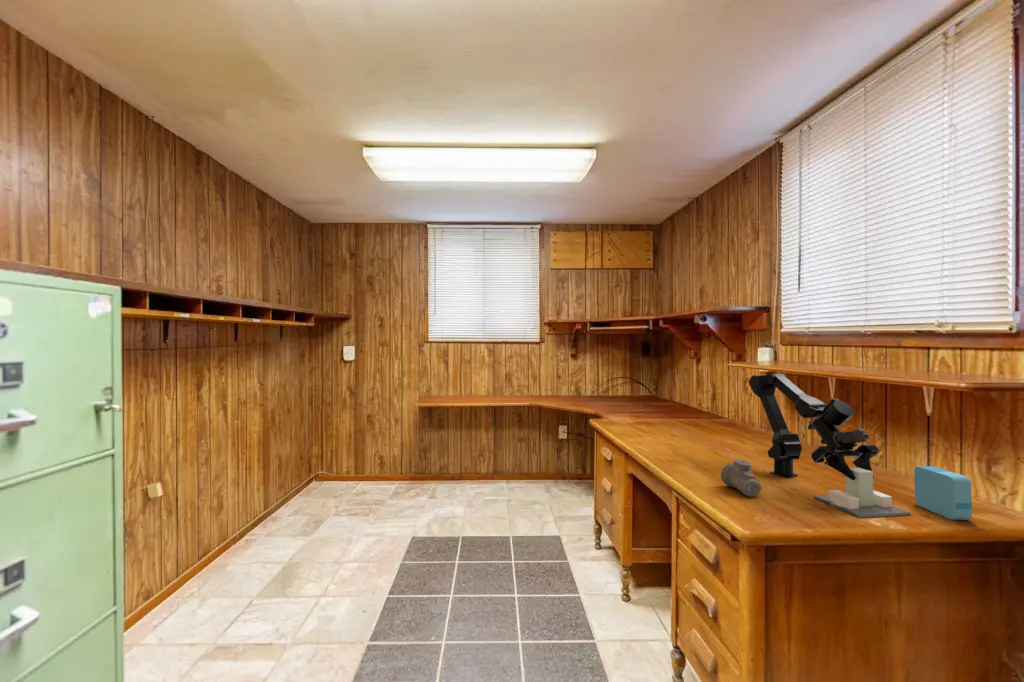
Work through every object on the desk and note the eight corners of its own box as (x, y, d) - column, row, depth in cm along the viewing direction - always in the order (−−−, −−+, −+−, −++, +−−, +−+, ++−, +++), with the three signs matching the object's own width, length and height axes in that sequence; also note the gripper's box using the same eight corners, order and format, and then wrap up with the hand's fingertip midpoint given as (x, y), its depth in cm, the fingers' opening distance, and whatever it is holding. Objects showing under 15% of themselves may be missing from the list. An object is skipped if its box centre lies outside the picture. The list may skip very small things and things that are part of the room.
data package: (972, 522, 110) (971, 477, 111) (954, 521, 111) (953, 477, 111) (930, 504, 122) (929, 464, 123) (914, 504, 123) (913, 464, 123)
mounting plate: (858, 517, 114) (858, 514, 114) (814, 498, 129) (814, 495, 129) (910, 515, 115) (910, 512, 115) (860, 495, 130) (860, 493, 130)
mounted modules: (849, 509, 118) (849, 498, 118) (828, 500, 125) (828, 490, 125) (891, 506, 119) (891, 496, 119) (868, 498, 126) (868, 488, 126)
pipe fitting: (718, 484, 141) (722, 455, 140) (740, 485, 142) (744, 457, 141) (739, 501, 129) (743, 470, 128) (763, 502, 130) (768, 471, 129)
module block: (845, 500, 124) (845, 467, 124) (859, 500, 124) (858, 467, 125) (859, 506, 120) (859, 472, 120) (873, 505, 120) (872, 471, 120)
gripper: (818, 420, 125) (852, 466, 114) (873, 418, 127) (911, 464, 116) (798, 439, 133) (828, 485, 122) (850, 438, 135) (884, 482, 124)
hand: (863, 479), depth 121 cm, fingers open, 6 cm apart
